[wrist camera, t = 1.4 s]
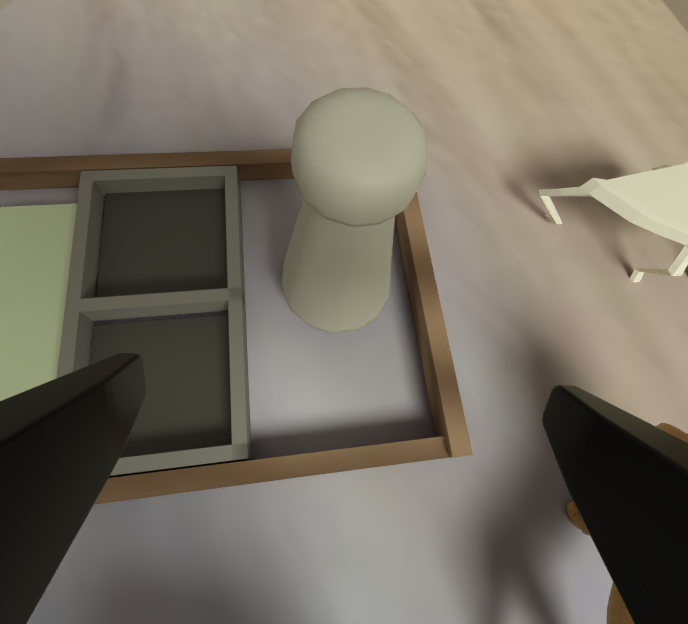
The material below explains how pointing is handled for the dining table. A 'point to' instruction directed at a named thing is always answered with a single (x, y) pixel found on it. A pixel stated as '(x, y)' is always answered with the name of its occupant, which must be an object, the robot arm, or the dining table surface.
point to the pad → (32, 292)
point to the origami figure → (641, 206)
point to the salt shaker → (349, 204)
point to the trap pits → (165, 307)
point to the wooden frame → (445, 444)
